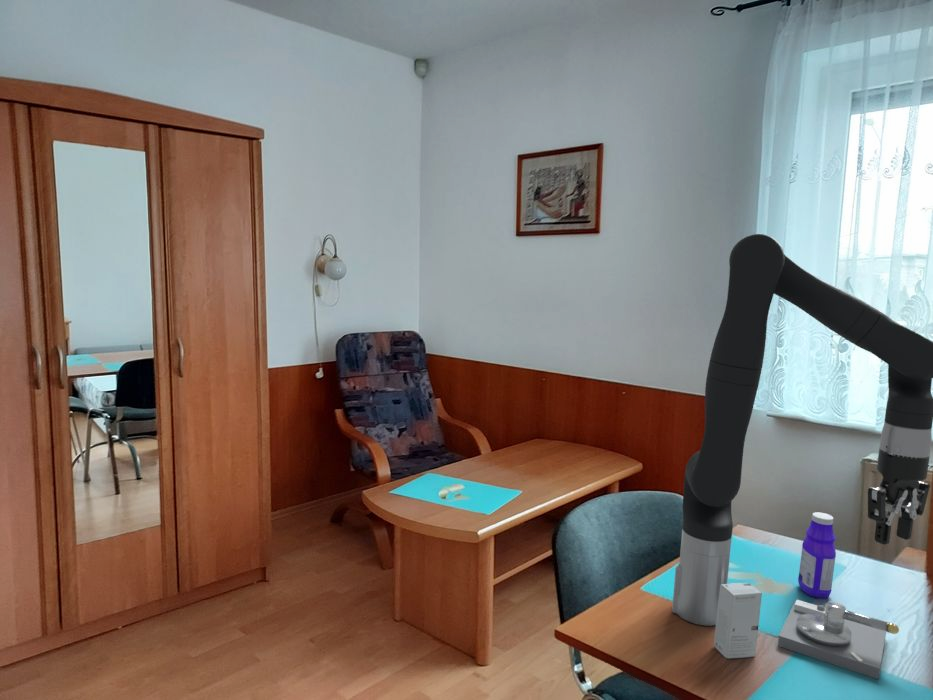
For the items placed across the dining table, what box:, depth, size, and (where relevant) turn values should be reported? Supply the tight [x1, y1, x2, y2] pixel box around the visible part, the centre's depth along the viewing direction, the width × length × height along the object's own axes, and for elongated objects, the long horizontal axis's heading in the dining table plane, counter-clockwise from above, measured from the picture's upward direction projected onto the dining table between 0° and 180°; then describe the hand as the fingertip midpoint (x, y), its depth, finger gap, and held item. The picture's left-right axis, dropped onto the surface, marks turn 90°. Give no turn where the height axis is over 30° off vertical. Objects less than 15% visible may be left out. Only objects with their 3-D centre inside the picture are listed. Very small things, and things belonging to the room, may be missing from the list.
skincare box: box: [713, 582, 763, 659], centre depth 121 cm, size 6×4×12 cm
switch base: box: [777, 599, 887, 680], centre depth 126 cm, size 16×16×4 cm
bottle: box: [797, 511, 837, 599], centre depth 145 cm, size 7×6×17 cm
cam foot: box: [797, 601, 900, 646], centre depth 123 cm, size 16×9×6 cm, turn 55°
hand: (892, 540), depth 121 cm, fingers open, 5 cm apart
